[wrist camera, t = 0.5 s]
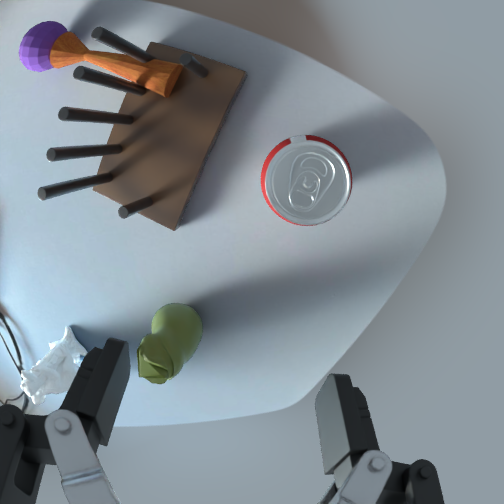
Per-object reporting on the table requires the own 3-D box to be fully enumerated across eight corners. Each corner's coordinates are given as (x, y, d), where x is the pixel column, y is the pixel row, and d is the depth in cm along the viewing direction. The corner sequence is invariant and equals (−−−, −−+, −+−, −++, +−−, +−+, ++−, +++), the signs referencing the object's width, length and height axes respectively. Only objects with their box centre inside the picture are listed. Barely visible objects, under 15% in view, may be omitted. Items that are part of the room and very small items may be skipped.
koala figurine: (59, 312, 36) (3, 360, 25) (97, 339, 36) (47, 396, 25) (53, 351, 39) (8, 398, 27) (88, 376, 39) (47, 429, 28)
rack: (155, 44, 25) (94, 5, 14) (247, 74, 25) (222, 32, 14) (98, 188, 30) (25, 210, 19) (178, 228, 30) (124, 270, 20)
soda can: (337, 154, 26) (371, 157, 15) (316, 207, 28) (334, 246, 17) (282, 132, 26) (278, 119, 15) (262, 186, 28) (244, 211, 17)
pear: (204, 343, 34) (178, 404, 25) (160, 330, 34) (124, 386, 25) (211, 300, 32) (182, 358, 23) (163, 288, 33) (120, 339, 23)
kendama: (148, 114, 23) (4, 69, 21) (173, 108, 28) (38, 65, 26) (174, 48, 20) (18, 18, 18) (196, 53, 25) (52, 20, 23)
